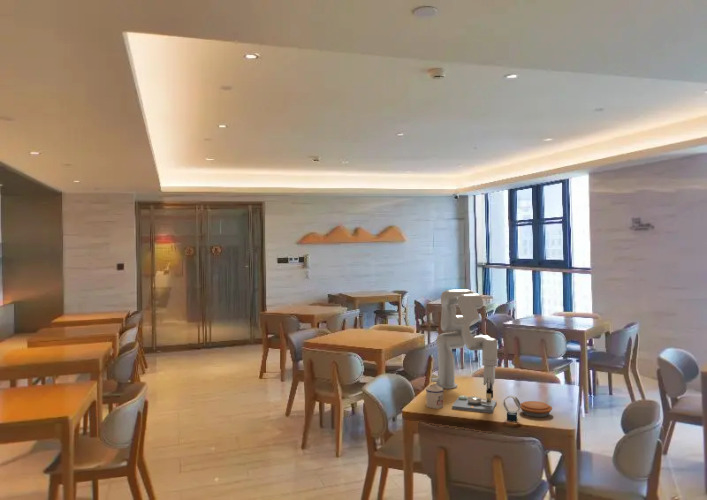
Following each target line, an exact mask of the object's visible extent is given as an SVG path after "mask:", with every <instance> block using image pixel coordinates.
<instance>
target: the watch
mask: <svg viewBox="0 0 707 500" xmlns="http://www.w3.org/2000/svg"><path fill="white" fill-rule="evenodd" d="M509 398H512V399H513V402H514V404H515V405H516V406H515V407H517V408H518V409H517V410H510V409H509V407H508V406H507V404H506V400H507V399H509ZM502 405H503V407H504V410H505V411H506V421H509V422H517V420H518V412H519V411H520V409H521V408H520V407H521V402H520V400H519V399H518V397H517V396H515V395H507V396H505V398H504V400H503V403H502Z"/></svg>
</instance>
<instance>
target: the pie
mask: <svg viewBox="0 0 707 500" xmlns="http://www.w3.org/2000/svg"><path fill="white" fill-rule="evenodd" d="M520 404H521V407H520V409H521V412H522V414H524V415H526V416H527V417H532V418H546V417H547V416H549V414H550V412H552V410H553V407H552V406H551V405H549V404H547V403H546V402H541V401H533V400H532V401H531V400H530V401H523V402H520Z"/></svg>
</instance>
